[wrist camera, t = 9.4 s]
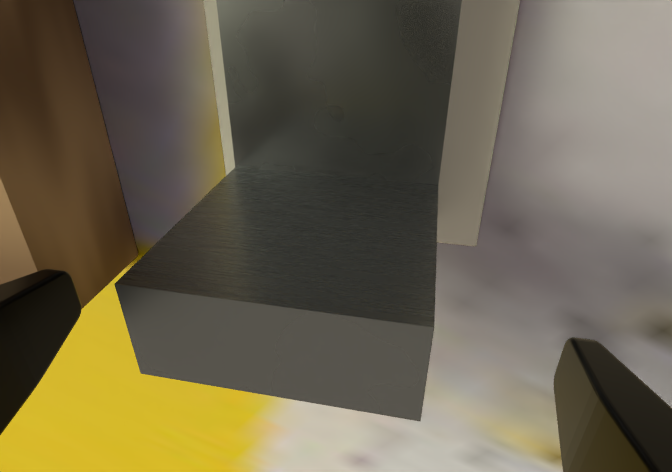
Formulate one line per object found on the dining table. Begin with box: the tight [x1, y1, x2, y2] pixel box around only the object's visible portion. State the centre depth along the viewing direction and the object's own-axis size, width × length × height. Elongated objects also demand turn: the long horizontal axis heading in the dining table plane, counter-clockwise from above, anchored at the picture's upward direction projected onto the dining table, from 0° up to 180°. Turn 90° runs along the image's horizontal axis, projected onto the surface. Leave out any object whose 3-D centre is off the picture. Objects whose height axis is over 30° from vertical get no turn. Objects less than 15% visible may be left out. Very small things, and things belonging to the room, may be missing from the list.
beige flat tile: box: [203, 0, 520, 246], centre depth 12 cm, size 10×8×1 cm
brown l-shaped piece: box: [0, 0, 138, 309], centre depth 10 cm, size 15×15×4 cm
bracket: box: [115, 0, 462, 421], centre depth 9 cm, size 8×5×7 cm, turn 0°
